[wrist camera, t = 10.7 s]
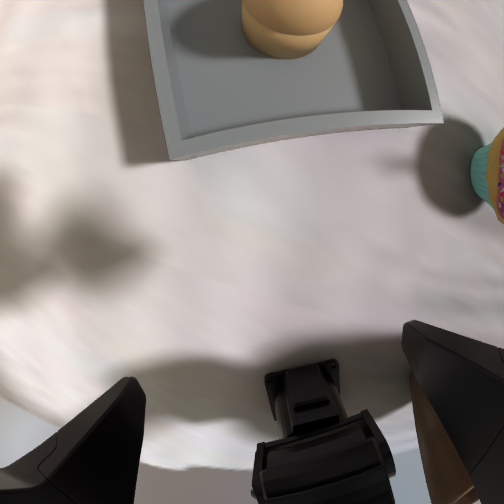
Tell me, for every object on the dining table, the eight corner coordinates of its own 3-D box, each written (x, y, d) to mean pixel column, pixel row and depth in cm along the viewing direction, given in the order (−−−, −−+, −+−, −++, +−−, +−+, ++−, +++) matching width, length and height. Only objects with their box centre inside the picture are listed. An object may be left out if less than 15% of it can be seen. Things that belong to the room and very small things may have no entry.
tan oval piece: (331, 57, 15) (371, 16, 9) (250, 64, 15) (255, 17, 9) (311, -4, 14) (337, -57, 7) (234, 1, 14) (233, -56, 7)
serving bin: (407, 127, 17) (443, 123, 13) (185, 160, 18) (169, 159, 13) (351, -39, 13) (370, -66, 8) (154, -22, 13) (139, -53, 9)
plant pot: (351, 412, 26) (399, 537, 10) (428, 291, 22) (552, 404, 6) (436, 412, 28) (487, 495, 13) (499, 318, 24) (581, 390, 9)
